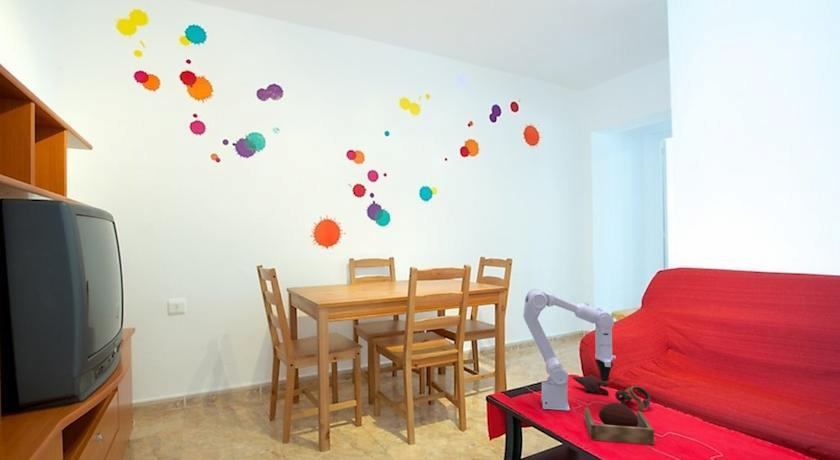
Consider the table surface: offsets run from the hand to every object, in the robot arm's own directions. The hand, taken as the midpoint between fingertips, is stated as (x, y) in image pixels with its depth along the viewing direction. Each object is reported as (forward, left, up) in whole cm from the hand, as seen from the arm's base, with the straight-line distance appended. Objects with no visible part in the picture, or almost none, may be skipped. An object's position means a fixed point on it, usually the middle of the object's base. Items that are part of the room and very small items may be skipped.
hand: (604, 380), depth 160 cm
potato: (0, -20, -10) cm, 22 cm away
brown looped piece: (+10, +3, -10) cm, 15 cm away
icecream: (-2, +16, -10) cm, 19 cm away
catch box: (0, -20, -10) cm, 22 cm away
